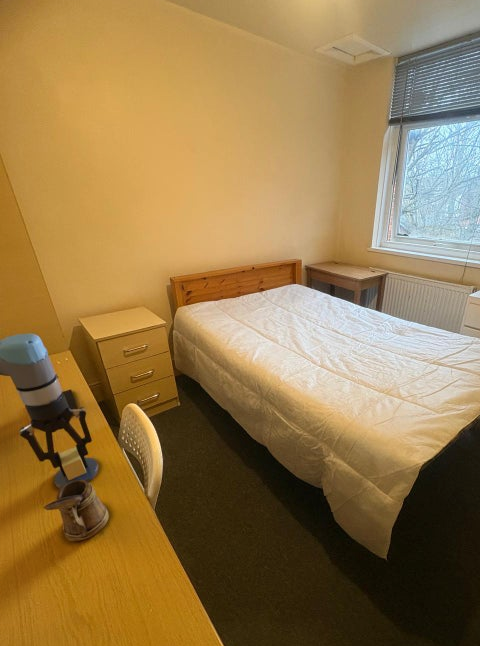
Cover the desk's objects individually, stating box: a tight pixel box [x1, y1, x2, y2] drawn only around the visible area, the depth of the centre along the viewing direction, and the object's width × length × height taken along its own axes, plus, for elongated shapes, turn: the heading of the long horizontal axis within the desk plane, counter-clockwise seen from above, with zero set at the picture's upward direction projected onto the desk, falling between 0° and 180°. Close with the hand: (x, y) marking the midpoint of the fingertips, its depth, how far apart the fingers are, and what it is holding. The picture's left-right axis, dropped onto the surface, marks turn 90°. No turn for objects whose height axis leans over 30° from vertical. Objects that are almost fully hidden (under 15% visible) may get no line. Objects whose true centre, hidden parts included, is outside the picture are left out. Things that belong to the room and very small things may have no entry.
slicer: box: [55, 373, 79, 409], centre depth 110 cm, size 16×10×14 cm, turn 40°
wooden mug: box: [43, 479, 110, 542], centre depth 69 cm, size 9×14×18 cm, turn 27°
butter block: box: [58, 446, 86, 480], centre depth 85 cm, size 4×6×5 cm, turn 40°
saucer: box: [53, 457, 100, 490], centre depth 87 cm, size 10×10×1 cm
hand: (75, 468), depth 86 cm, fingers closed on butter block, 4 cm apart
